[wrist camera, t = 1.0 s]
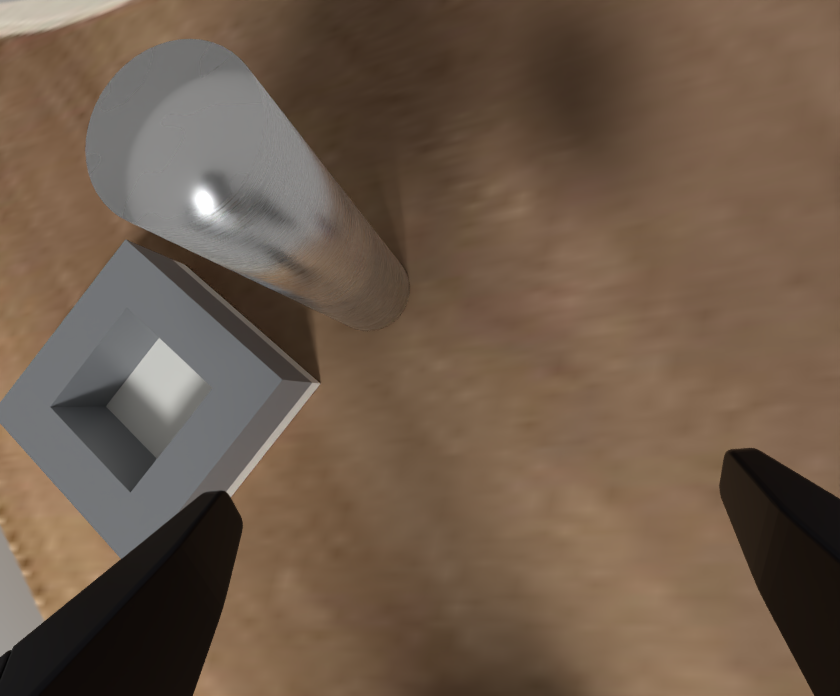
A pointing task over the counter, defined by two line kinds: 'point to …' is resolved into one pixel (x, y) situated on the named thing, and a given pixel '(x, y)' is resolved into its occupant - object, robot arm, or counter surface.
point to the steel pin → (236, 183)
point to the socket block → (151, 397)
